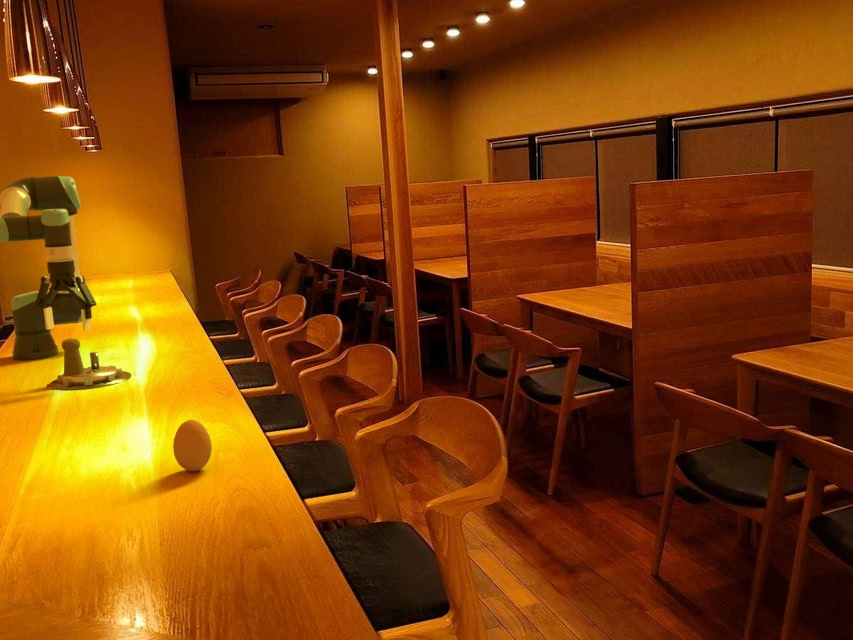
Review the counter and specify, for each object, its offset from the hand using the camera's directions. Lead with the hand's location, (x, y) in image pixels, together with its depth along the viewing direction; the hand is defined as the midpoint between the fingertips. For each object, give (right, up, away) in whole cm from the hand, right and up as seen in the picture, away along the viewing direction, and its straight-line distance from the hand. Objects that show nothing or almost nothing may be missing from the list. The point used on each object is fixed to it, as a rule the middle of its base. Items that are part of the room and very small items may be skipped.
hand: (68, 329), depth 245 cm
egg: (+62, -29, -80) cm, 105 cm away
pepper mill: (+1, -14, +2) cm, 14 cm away
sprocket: (+5, -16, +5) cm, 17 cm away
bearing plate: (+5, -16, +5) cm, 17 cm away
